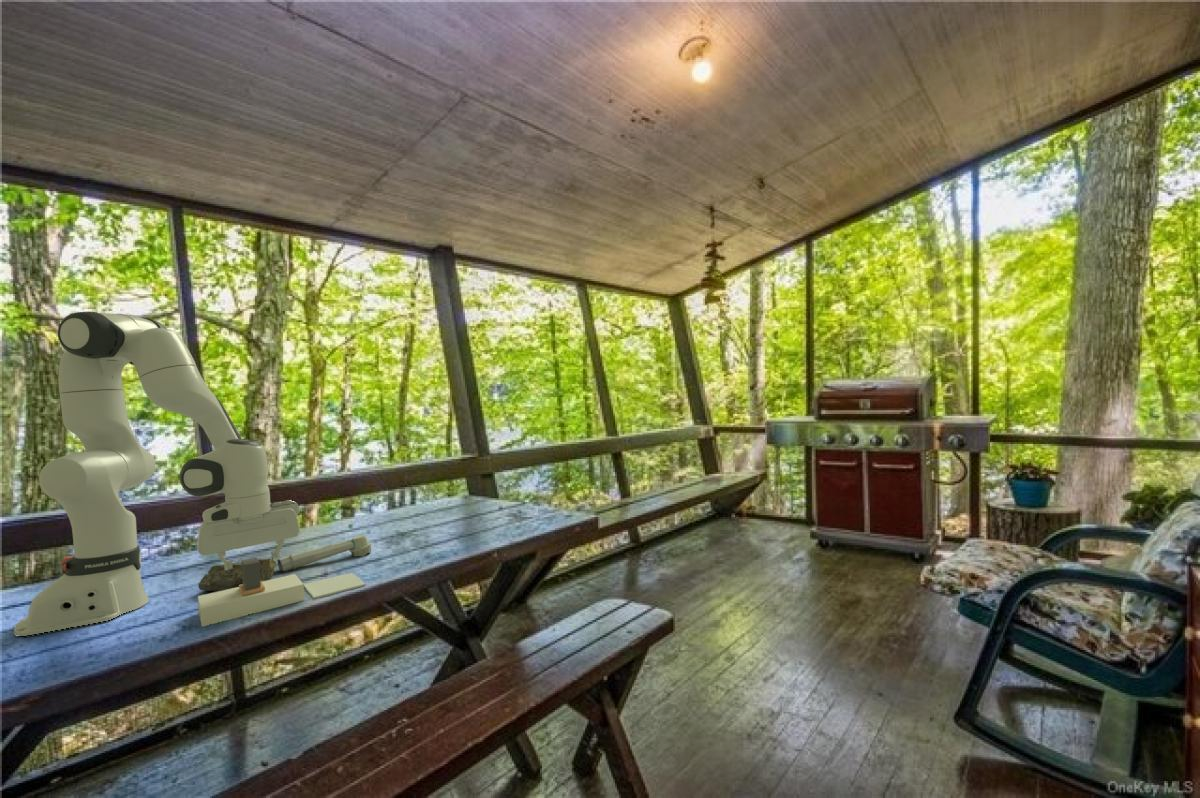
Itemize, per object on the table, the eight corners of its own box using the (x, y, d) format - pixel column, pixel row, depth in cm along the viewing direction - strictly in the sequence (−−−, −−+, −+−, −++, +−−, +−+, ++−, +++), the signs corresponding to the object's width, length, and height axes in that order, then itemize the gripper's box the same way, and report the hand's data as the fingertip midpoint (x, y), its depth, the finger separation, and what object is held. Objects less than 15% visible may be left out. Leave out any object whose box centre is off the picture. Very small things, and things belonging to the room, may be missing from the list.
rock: (275, 556, 149) (277, 555, 141) (275, 581, 147) (277, 581, 139) (200, 567, 139) (197, 567, 131) (199, 594, 138) (196, 595, 130)
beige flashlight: (276, 556, 151) (366, 528, 166) (280, 578, 152) (370, 548, 167) (278, 561, 147) (370, 532, 162) (283, 583, 148) (374, 552, 163)
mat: (314, 599, 128) (314, 597, 128) (303, 586, 137) (303, 584, 137) (365, 585, 135) (365, 583, 135) (352, 574, 144) (352, 572, 144)
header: (201, 626, 114) (200, 608, 114) (198, 613, 121) (197, 596, 121) (304, 600, 127) (303, 584, 127) (295, 589, 135) (295, 574, 134)
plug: (243, 613, 120) (241, 566, 120) (239, 605, 125) (237, 560, 125) (265, 607, 123) (263, 562, 123) (261, 600, 128) (259, 556, 128)
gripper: (295, 497, 133) (299, 550, 133) (194, 513, 120) (198, 572, 120) (300, 500, 128) (304, 555, 128) (196, 517, 115) (200, 579, 115)
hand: (252, 563), depth 124 cm, fingers open, 8 cm apart
